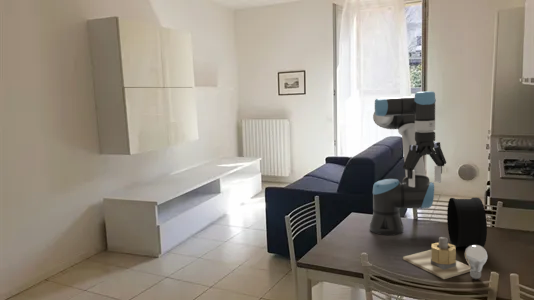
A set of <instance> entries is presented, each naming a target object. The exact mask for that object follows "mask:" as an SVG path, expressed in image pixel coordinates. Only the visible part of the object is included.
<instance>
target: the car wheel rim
mask: <svg viewBox="0 0 534 300" xmlns="http://www.w3.org/2000/svg"><path fill="white" fill-rule="evenodd" d="M446 212H447V213H446V219H447V220H446V221H447V231H448V236H449V238H448V239H449V241H450V244H452V245H455V247H456V248H458V247H466V248H467V247H469V246H470V245H480V246H482V247H483V248H485V245H486V242H487V236H488V223H487V222H488V221H487V215H486V209H485V206H484V203H483V201H482V199H481V198H480V197H472V198H455V197H450V198H449V199H448V202H447V211H446Z"/></svg>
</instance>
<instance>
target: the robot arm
mask: <svg viewBox="0 0 534 300" xmlns="http://www.w3.org/2000/svg"><path fill="white" fill-rule="evenodd" d="M436 99H437V98H436V92H435V91H433V90H431V91H417V92H415V93H414V96H399V97H396V96H395V97H380V98H379V97H378V98H375V99H374V112H373V114H372V119H373V122H374V124H376V125H377V127H378V126H379V127H380V128H382V129H387V130H397V132H398V133H399V135H401V139H402V150H403V161H404V164H403V166H402V169H403V170H405V176H404V177H403V179H402V182H401V181H399V179H397V178H385V179H380V180H378V181H376V182H374V184H373V187H372V210H373V211H372V212H373V213H372V217H371V220H370V223H369V230H370V231H371V232H372V233H374V234H378V235H385V236H394V235H399V234H402V233H403V232H404V229H405V228H404V224H403V220H402V218H401V214H400V209H430V208H431V207H432V206H433V203H434V198H435V183H434V182H436V183H442V175H443V167H445V165H446V164H447V160H446V158H445V155H444V152H443V150H442V148H441V147H442V145H441V142H440V141H436V132H435V130H436V101H437V100H436ZM427 155H429V157H430V158H431V160H432V161H433V162H434V163H435V165H434V182H432V181H431V182H430V177H428V176H427V175H426V172H425V171H426V170H425V163H424V162H425V161H424V156H427Z"/></svg>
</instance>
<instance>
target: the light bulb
mask: <svg viewBox="0 0 534 300" xmlns="http://www.w3.org/2000/svg"><path fill="white" fill-rule="evenodd" d="M464 259H465V261H466V262H467V264H468V266H469V268H470V272H469V275H470V277H471V278H472V279H473V280H478V279H480V278H481V277H482V271H483V267H484V265H485V264H486V262H487V260H488V252H487V250H486V249H485V247H482V246H480V245H470V246H469V247H466V248H465V250H464Z"/></svg>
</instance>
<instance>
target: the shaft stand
mask: <svg viewBox="0 0 534 300" xmlns="http://www.w3.org/2000/svg"><path fill="white" fill-rule="evenodd" d="M438 243H439V248H441V249H448V243H449V238H448V237H445V236H440V237H438ZM402 260H404V261H406V262H408V263H409V264H412V265H414V266H416V267H418V268H420V269H422V270H424V271H426V272H428V273H430V274H431V275H434V276H437V277H439V278H441V279H442V280H446V279H449V278H452V277H456V276H457V277H458V276H460V275H463V274H466V273H470V268H469V264H468V265H467V264H466V263H463V262H461V261H459V260H456V262H455V263H453V264H438V263H436V262H434V261H432V249H428V250H425V251H421V252H420V251H419V252H416V253H413V254H409V255H404V256H402Z"/></svg>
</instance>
